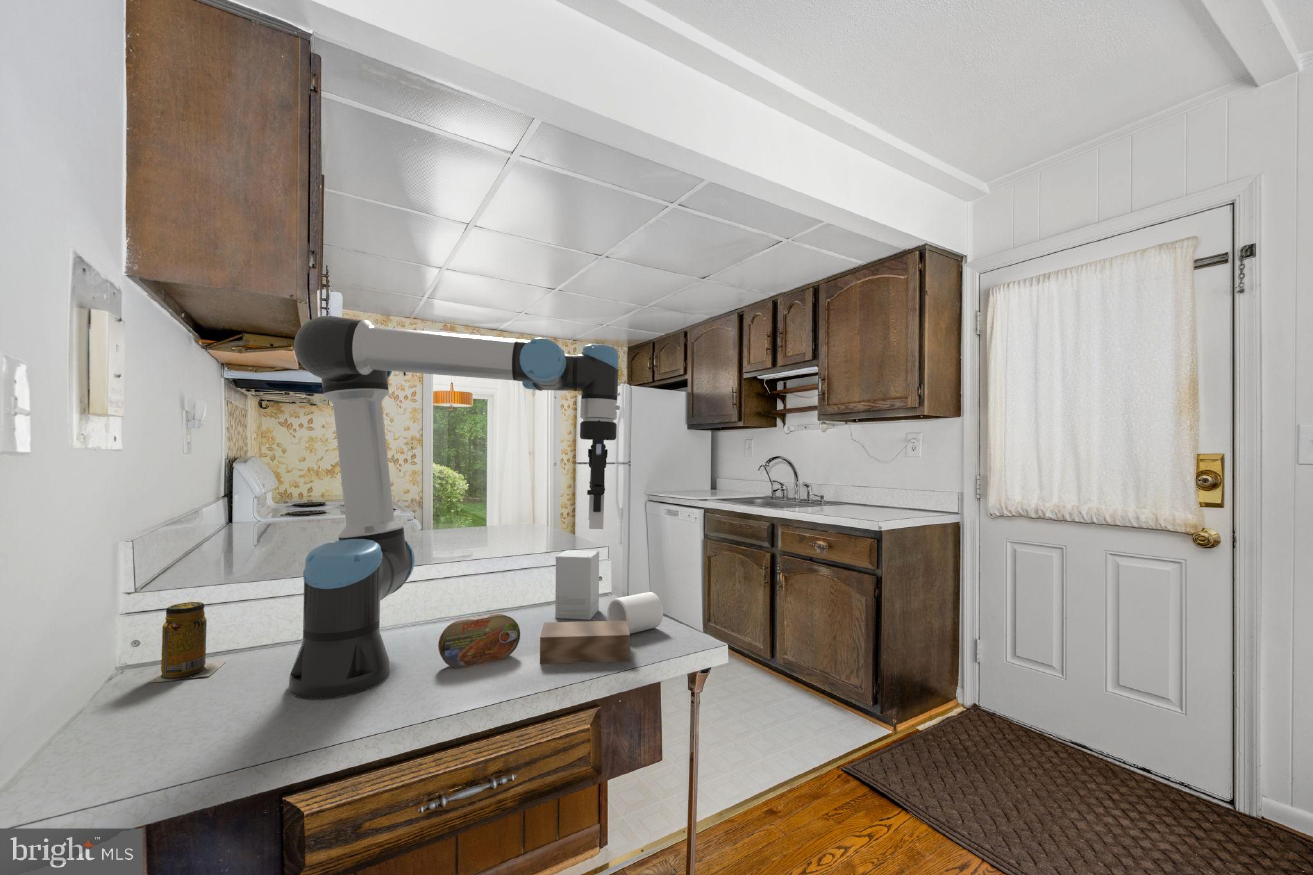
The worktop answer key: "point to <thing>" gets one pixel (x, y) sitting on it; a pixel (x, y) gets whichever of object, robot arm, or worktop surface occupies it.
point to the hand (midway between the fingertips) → (595, 524)
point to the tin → (479, 640)
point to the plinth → (584, 642)
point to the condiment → (185, 643)
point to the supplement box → (577, 584)
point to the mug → (637, 611)
